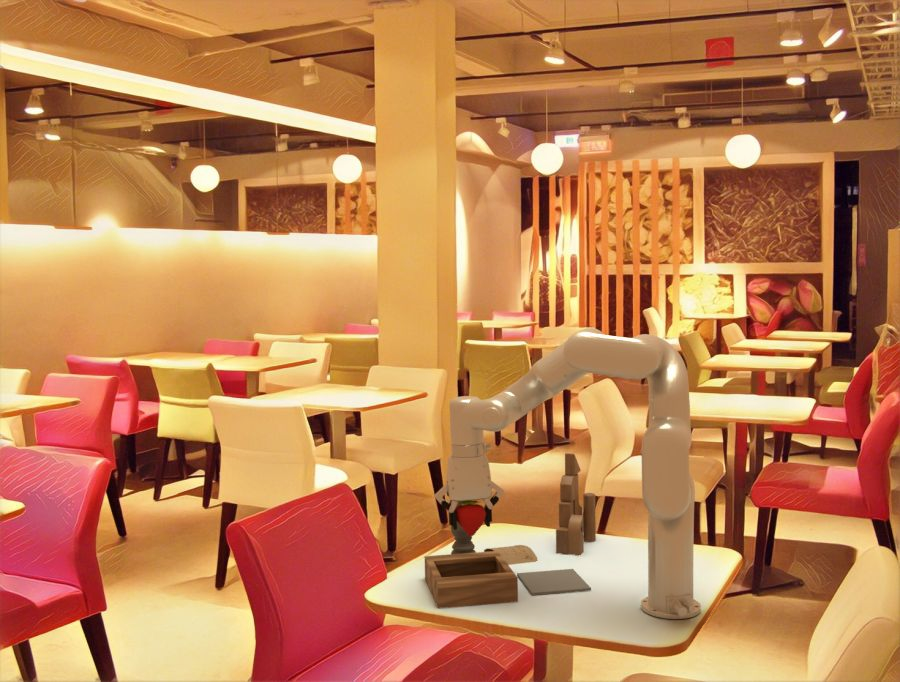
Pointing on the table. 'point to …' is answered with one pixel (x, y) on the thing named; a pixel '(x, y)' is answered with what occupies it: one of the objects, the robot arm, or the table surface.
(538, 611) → the table surface
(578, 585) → the mat
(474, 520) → the strawberry
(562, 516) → the wooden toy
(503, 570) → the wooden box
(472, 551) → the candle holder
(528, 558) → the clay tablet
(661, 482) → the robot arm
